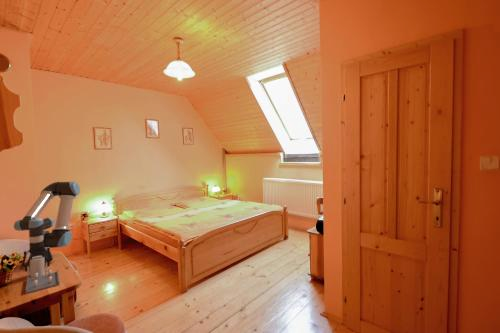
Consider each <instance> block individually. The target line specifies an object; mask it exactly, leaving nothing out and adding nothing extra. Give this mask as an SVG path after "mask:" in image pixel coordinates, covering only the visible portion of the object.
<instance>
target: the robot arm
mask: <svg viewBox="0 0 500 333" xmlns="http://www.w3.org/2000/svg"><path fill="white" fill-rule="evenodd" d="M80 188H81V187H80V185H79V183H78V182H76V181H54V182H52V183H49V184H48V185H46V186H45V187H44V188H43V189H42V190H41V191H40V192H39V194H40V195H39V197H38V198H37V199H36V200H35V202H34V203H33V204H32V206H31V207H30V208H29V209H28V210H27V213H26V214H25V215H24V217H23V218H22V219H18V220H16V221H14V224H13V229H14V230H15V231H19V232H20V231H28V237H29V240H28V242H29V243H28V244H29V249H28V250H27V251H26V250H24V251H23V258H22V262H21V264H20V265H21V268H24V271H25V272H27V273H26V274H27V277H30V260H31V259H32V257H36V256H43V257H45V273H48V269H49V267H50V262H51V261H53V259H54V258H53V254H52V252H51V250H50V249H51V248H65V247H67V246H68V245H69V244H70V243H71V242H72V238H73V233H72V231H71V230H70V228H69V225H70V217H71V213H72V207H73V202H74V199H76V198H77V196H78V195H80V193H81V189H80ZM57 196H58V197H59V206H58V209H57V215H56V221H55V219H54V218H52V217H45V218H39V217H40V215H41V214H42V213H43V211H44V210H45V208H46V207H47V205H48V204H49V203H50V201H51V200H53V199H54V198H55V197H57ZM54 225H55V226H54ZM53 226H54V228H53V229H52V230H51V232H50V231H49V230H47V229H50V228H52V227H53ZM27 255H29V257H28V258H27ZM26 259H27V261H26Z"/></svg>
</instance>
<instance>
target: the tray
mask: <svg viewBox="0 0 500 333" xmlns="http://www.w3.org/2000/svg"><path fill="white" fill-rule="evenodd" d="M57 286H60V275H59V269H57V270H56V271H55V272H52V269H49V270H48V272H47V273H45V274H44V275H42V276H38V273H35V277H33V278H31V277H30V276H27V278H26V285H25V290H24V291H25V294H26V295H27V294H31V293H34V292H38V291H43V290H46V289H49V288H53V287H57Z"/></svg>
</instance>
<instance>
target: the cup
mask: <svg viewBox="0 0 500 333" xmlns="http://www.w3.org/2000/svg"><path fill="white" fill-rule="evenodd" d="M35 273H38V276H42V275H46V263H45V257H43V256H36V257H32V259H31V260H30V265H29V278H33V277H35Z"/></svg>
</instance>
